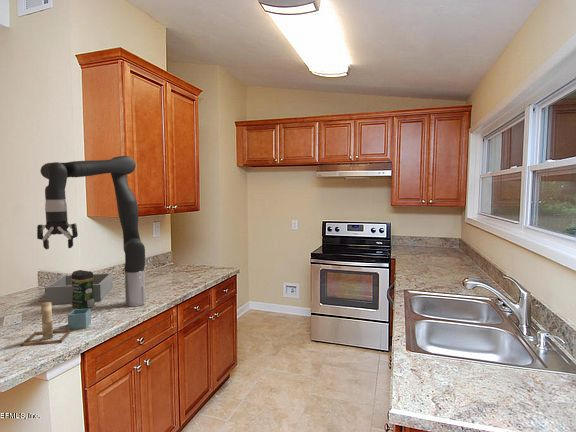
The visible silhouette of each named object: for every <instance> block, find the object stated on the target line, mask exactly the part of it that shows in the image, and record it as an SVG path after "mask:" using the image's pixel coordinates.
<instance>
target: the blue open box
mask: <svg viewBox="0 0 576 432" xmlns="http://www.w3.org/2000/svg"><path fill="white" fill-rule="evenodd" d="M91 309H92V307H91V308H89V309H72V311H71V312H69V313H68V314H67V329H72V331H73V330H84V329H87V328H89V326H90V324H91V323H92V310H91Z"/></svg>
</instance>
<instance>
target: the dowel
mask: <svg viewBox="0 0 576 432" xmlns="http://www.w3.org/2000/svg"><path fill="white" fill-rule="evenodd" d="M40 306H41V329H42V330H41V332H42V333H43V334H42V341H50V340H53V338H54V333H53V331H54V329H53V311H52V310H53V309H52V307H53V304H51V302H42V303H41V304H40Z"/></svg>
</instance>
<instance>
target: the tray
mask: <svg viewBox="0 0 576 432" xmlns="http://www.w3.org/2000/svg"><path fill="white" fill-rule="evenodd" d="M72 331H73V330H72V329H68V328H67V329H57V330H56V329H55V330H54V329H53V334H62V333H64V334H63V335H62V336H61V337H60V339H50V340H41V341H31V340H32V339H33V338H35V337H36V336H39V335H43V333H42V331H35V332H33V333H32V334H31V335H30V336H29V337H27V338H26V339H25V340H23V341H22V342H21V343H20V347H27V346H36V345H37V346H38V345H39V346H40V345H49V344H50V345H51V344H60V343H62V342H63V341H64V340H65V339H66V338H68V336H69V335H70V334H71V332H72Z"/></svg>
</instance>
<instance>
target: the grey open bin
mask: <svg viewBox="0 0 576 432" xmlns="http://www.w3.org/2000/svg"><path fill="white" fill-rule="evenodd" d="M71 276H72V274H70V275H68V274H67V275H62V276H61V277H59V278H57V279H56V280H54V281H53V282H51V283H50V284H48V285H46V286H45V287H44V301H45V302H51V304H52V305H65V304H66V305H67V304H72V297H73V286H72V285H71V286H68V285H69V284H71V283H72V282H71V281H72V280H71ZM93 277H94V278H93V295H94V303H97V302H98V303H99V302H102V301H103V300H104V299H105V297H106V296H107V295H108V294H109V293H110V292H111V291H112V290H113V289H114V288H113V287H114V286H113V284H114V283H113V273H93ZM45 302H44V303H45Z"/></svg>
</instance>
